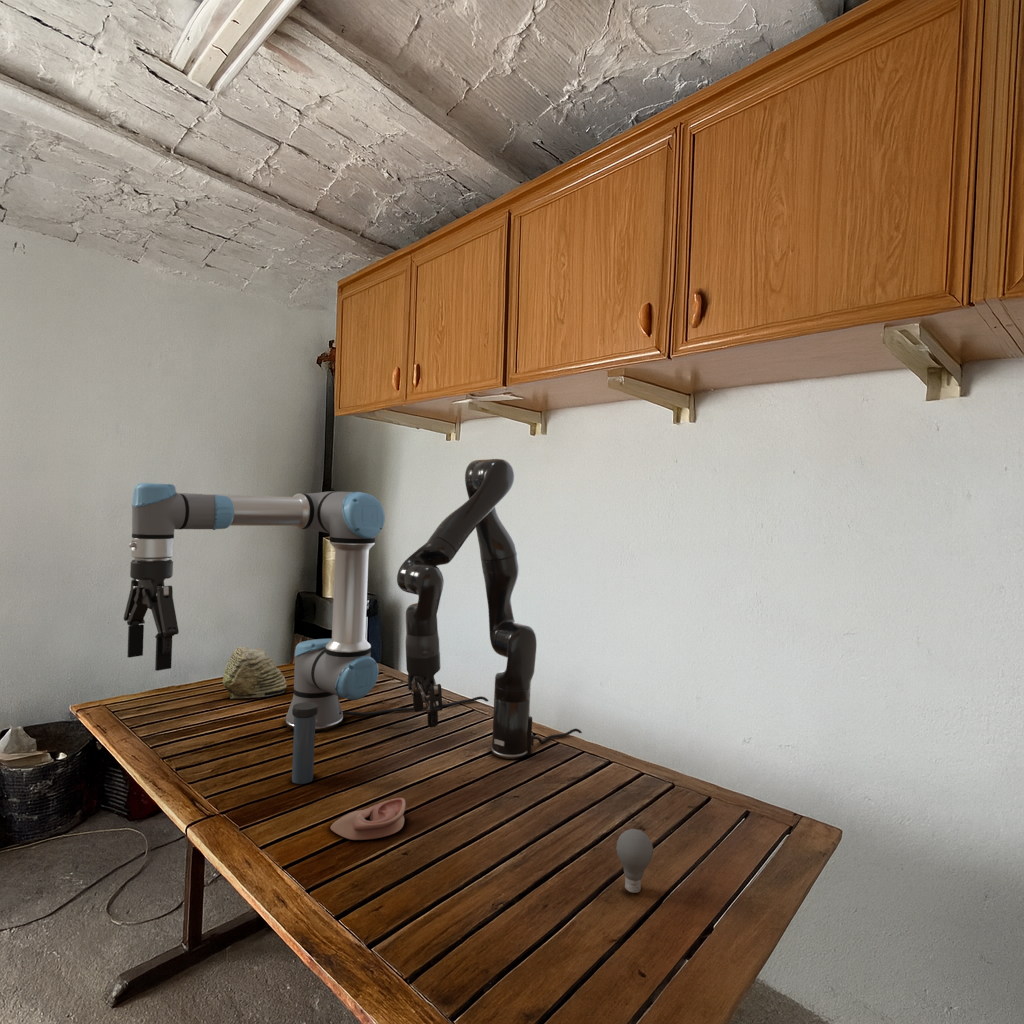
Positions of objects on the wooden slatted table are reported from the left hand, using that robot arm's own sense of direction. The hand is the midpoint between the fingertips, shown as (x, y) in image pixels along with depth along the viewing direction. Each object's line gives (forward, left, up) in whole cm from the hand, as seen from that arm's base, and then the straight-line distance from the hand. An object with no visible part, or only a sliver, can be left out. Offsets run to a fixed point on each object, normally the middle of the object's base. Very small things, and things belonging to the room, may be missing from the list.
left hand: (148, 662), depth 129 cm
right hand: (-45, +34, -14) cm, 59 cm away
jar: (-27, +15, -28) cm, 42 cm away
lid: (-27, +15, -12) cm, 33 cm away
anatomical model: (-24, +42, -28) cm, 56 cm away
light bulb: (-41, +90, -28) cm, 103 cm away
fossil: (-50, -47, -28) cm, 74 cm away
